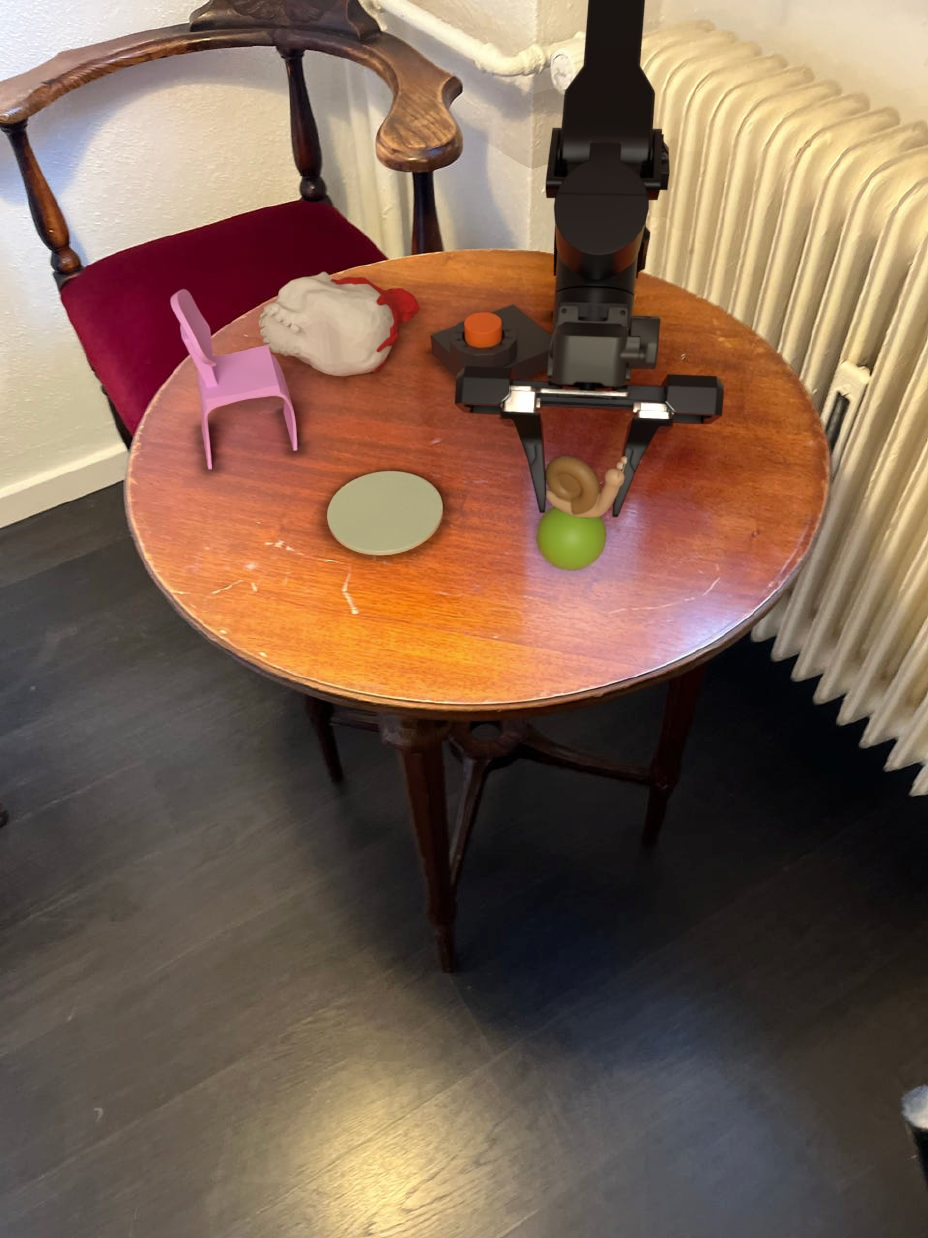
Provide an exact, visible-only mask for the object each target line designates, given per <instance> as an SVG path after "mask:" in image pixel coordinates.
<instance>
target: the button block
mask: <svg viewBox="0 0 928 1238" xmlns="http://www.w3.org/2000/svg"><path fill="white" fill-rule="evenodd" d="M490 313H492V314H495V315H497V316H498V317H499V318H500V319H501V321H502V340H501V342H500V343H499V344H497V345H494V346H492V347H484V348H477V347H473V346H470V345H468V344H467V343H466V341H465V329H464V322H465V320H462V321H460V322H458V323H457V324H456V325H453V326H450V327H448V328H445V329H443V330H440V331H437V332H435V333H432V334H430V343H431V344H430V345H431V354H432V355H433V356H434V357H436V359H437V360H438V361H439V362H440V363H442V365H444V367H446V369H447V370H449V372H451V374H452V375H453V376H455V377H456V378H457V374H458V373H459V372H460V371H461V370H462V369H463V368H464V367H465V366H481V367H505V368H512V370H513V372H514V375H515V377H516V380H524V379H526V378H528V377H531V376H534V375H535V374H538V373H540V372H543V371H547V363H548V348H549V340H550V338H551V335H552V334H549V333H548V332H547V331H546V330H545V329H544V328H543V327H541V325H539V324H537V323H536V321H534V320H533V319H532V318H531V317H529V316H528V315H527V314H526V313H525V312H523V311H522V310H521V309H520V308H518V307H517V306H516V305H515V304H514V303H513V304H510V305H508V306H504V307H502V308H499V309H497V310H494V311H491V312H490Z"/></svg>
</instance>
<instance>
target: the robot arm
mask: <svg viewBox="0 0 928 1238" xmlns="http://www.w3.org/2000/svg"><path fill="white" fill-rule="evenodd" d="M645 7H646V0H587V11H586V12H587V13H586V26H585V27H586V28H585V39H584V52H583V53H584V54H583V65H582V67H581V68H580V70H579V71H577V72H578V73H576V75H575V76H574V78H573V79H572V80H571V82H570V83H569V85H568V86H567V87H566V89H565V90H564V93H563V105H562V116H561V117H562V119H561V127H552V128H551V134H550V135H551V136H550V144H549V151H548V160H547V167H546V173H545V174H546V175H545V197H546V199H554V202H553V215H554V216H553V217H554V236H553V277H555V282H554V283H555V284H554V297H553V299H554V300H553V310H551V313H550V314H551V315H550V316H551V318H552V326H551V327H552V328H551V334H550V335H551V338H550V340H549V348H548V363H547V369H546V378H547V379H548V380H526V379H525V380H524V379H521V380H516V377H515V375H514V372H513V370H512V368H505V367H481V366H465V367H464V368H463V369H462V370H461V371H460V372H459V373H458V374H457V377H456V379H455V389H454V390H455V392H454V405H455V406H456V407H457V408H458V409H459V410H460V411H461V412H462V413H464V414H472V415H474V414H475V415H493V416H499V420H500V422H501V423H502V424H503V426H504V427H509V428H515V430H516V432H517V434H518V436H519V439H520V443H521V445H522V448H523V451H524V453H525V456H526V460H527V463H528V468H529V473H530V477H531V480H532V481H531V482H532V486H533V490H534V494H535V499H536V503H537V507H538V512H539V514H545V513H546V510H547V509H546V508H547V507H546V506H547V497H546V496H547V489H548V488H547V482H546V477H545V471H546V455H545V441H544V440H545V437H544V422H543V418H542V415H541V412H542V407H544V408H563V409H564V408H565V409H587V410H608V411H609V410H610V411H630V412H631V415H630V416H631V417H632V416H633V417H632V418H631V419H630V421H629V423H628V425H627V426H626V432H625V436H624V442H623V446H622V452H621V457H620V459H621V458H622V457H623V456H626V457H627V458H628V462H627V463H626V464H625V467H624V471H623V473H624V476H625V478H624V482H623V484H622V485H621V486H620V488H619V491H618V494H617V496H616V498H615V500H614V502H613V504H612V512H611V517H612V518H618V517H619V515H620V513H621V510H622V508H623V505H624V503H625V500H626V498H627V495H628V493H629V490H630V488H631V486H632V483H633V480H634V478H635V475H636V472H637V469H638V468H639V465H640V463H641V461H642V458H643V457H644V455H645V453H646V451H647V449H648V448H649V446H650V445H651V442H652V440H653V439H654V437H655V435H666V434H668V433H669V432H670V431H671V430H672V429H673V428H674V424H684V425H685V424H687V425H689V424H690V425H711V424H713V423H714V422H716V421H717V420H718V419H720V418H721V417H722V416H723V409H724V399H725V398H724V397H725V388H724V387H725V386H724V384H723V382H722V381H721V379H720V378H719V377H718V376H717V375H700V374H699V375H697V374H677V373H674V374H673V373H667V374H666V376H665V378H664V379H663V381H662V382H661V385H646V384H645V385H644V384H628V383H629V382H630V381H631V380H632V370H656V368H657V363H658V354H659V353H658V352H659V343H660V330H661V317H660V316H658V315H636V314H635V315H634V308H635V295H636V283H637V279H638V278H639V273H640V272H641V271H644V270H645V269H646V264H647V255H648V250H649V244H650V240H651V231H650V229H648V227H647V218H648V215H649V210H650V201H658V200H659V196H660V194H661V193H660V192H661V191H668V189H669V183H670V180H669V179H670V173H671V169H670V148H669V146H668V144H666V142H665V134H664V133H663V129H662V128H654V120H655V119H654V118H655V117H654V116H655V102H656V91H655V89H654V87H653V85H652V84H651V82H650V80H649V79H648V77H647V75H646V73H645V71H644V70H643V67H642V66H641V60H642V47H643V46H642V45H643V32H644V19H645ZM622 470H623V469H621V471H622Z"/></svg>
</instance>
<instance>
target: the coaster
mask: <svg viewBox="0 0 928 1238" xmlns="http://www.w3.org/2000/svg"><path fill="white" fill-rule="evenodd" d="M443 515H444V505H443V499H442V497H441V494H440V492H439V491H438V490H437V488H436V487H435V486H434V485H433V484H432V483H430V482H429V481H428V480H427V479H425V478H423V477H420V476H418V475H416V474H413V473H410V472H405V471H400V470H399V471H398V470H384V471H383V470H382V471H376V472H371V473H367V474H364V475H361V476H359V477H357V478H354V479H352V480H350V481H349V482H348V483H346V484H344V485H343V486H342V487H340V488H339V490H338V491H337V492H336V493H335V494H334V495H333V496H332V498H331V500H330V502H329V504H328V507H327V511H326V519H327V526H328V528H329V531H330V533H331V535H332V536H333V537H334V539H335V540H336V541H337V542H339V544H341V545H342V546H343V547H345V548H347V549H349V550H351V551H354V552H356V553H359V554H363V555H368V556H369V555H370V556H391V555H396V554H401V553H404V552H408V551H411V550H413V549H414V548H416V547H418V546H420V545H422V544H423V543H425V542H426V541H427V540H429V538H431V537H432V536H433V535H434V533H435V532H436V531H437V529H438V528H439V527H440V525H441V522H442V520H443Z"/></svg>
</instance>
